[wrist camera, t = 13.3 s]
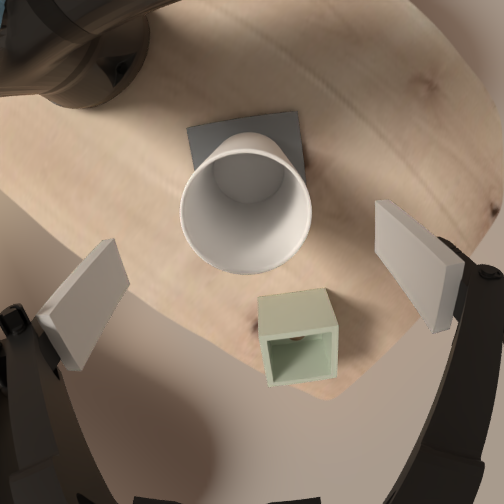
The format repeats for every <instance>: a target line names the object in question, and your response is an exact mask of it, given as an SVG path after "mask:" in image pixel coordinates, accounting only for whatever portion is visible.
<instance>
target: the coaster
mask: <svg viewBox="0 0 504 504" xmlns="http://www.w3.org/2000/svg"><path fill="white" fill-rule="evenodd" d="M244 132H254V133H259V134H262V135H265V136H267V137H268V138H270V139H272V140H273V141H274V142H275V143H276V144H277V145H278V146H279V147H280V149H281V150H282V151H283V153H284V154H285V155H286V157H287V158H288V159H289V161H290V162H291V164H292V165H293V166H294V168H295V169H296V170H297V172H298V173H299V175H300V176H301V178H302V179H303V181H304V183H305V185H306V177H305V168H304V159H303V151H302V143H301V135H300V127H299V119H298V112H297V111H292V112H283V113H274V114H266V115H259V116H251V117H245V118H238V119H232V120H226V121H220V122H214V123H209V124H204V125H199V126H194V127H189V128H187V134H188V139H189V144H190V150H191V155H192V160H193V165H194V170H196V169H197V168H198V167H199V166H200V165H201V164H202V163H203V162H204V161H205V160H206V159H207V158H208V157H209V156H210V155H211V154H212V153H213V152H214V151H215V150H216V149H217V148H218V147H219V146H220V145H221V144H222V143H223V142H224V141H225V140H226V139H228V138H229V137H231V136H233V135H236V134H239V133H244Z"/></svg>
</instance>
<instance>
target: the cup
mask: <svg viewBox="0 0 504 504" xmlns="http://www.w3.org/2000/svg"><path fill="white" fill-rule="evenodd" d="M311 220H312V206H311V200H310V196H309V192H308V189H307V187H306V185H305V183H304V181H303V179H302V178H301V176H300V175H299V173H298V172H297V170H296V169H295V168H294V166H293V165H292V164H291V162H290V161H289V159H288V158H287V157H286V155H285V154H284V153H283V151H282V150H281V149H280V147H279V146H278V145H277V144H276V143H275V142H274V141H273V140H272V139H270V138H268V137H267V136H265V135H262V134H259V133H254V132H244V133H239V134H236V135H233V136H231V137H229V138H228V139H226V140H225V141H224V142H223V143H222V144H221V145H220V146H219V147H218V148H217V149H216V150H215V151H214V152H213V153H212V154H211V155H210V156H209V157H208V158H207V159H206V160H205V161H204V162H203V163H202V164H201V165H200V166H199V167H198V168H197V169H196V170H195V172H194V173H193V174H192V176H191V177H190V179H189V180H188V182H187V184H186V186H185V189H184V191H183V194H182V198H181V203H180V221H181V226H182V230H183V233H184V235H185V237H186V239H187V241H188V243H189V245H190V246H191V248H192V249H193V250H194V251H195V252H196V254H197V255H198V256H199V257H201V258H202V259H203V260H204V261H205V262H207V263H208V264H210V265H212V266H213V267H215V268H217V269H220V270H222V271H225V272H229V273H233V274H240V275H252V274H260V273H264V272H267V271H270V270H273V269H275V268H277V267H279V266H281V265H283V264H284V263H285V262H287V261H288V260H289V259H291V258H292V257H293V256H294V255H295V254H296V253H297V252H298V250H299V249H300V248H301V246H302V245H303V243H304V241H305V239H306V237H307V235H308V233H309V229H310V225H311Z"/></svg>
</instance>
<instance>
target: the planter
mask: <svg viewBox="0 0 504 504" xmlns="http://www.w3.org/2000/svg"><path fill="white" fill-rule="evenodd" d="M338 332H339V325H338V322H337V319H336V316H335V314H334V311H333V308H332V305H331V303H330V300H329V297H328V294H327V292H326V289H325V288H320V289H313V290H306V291H299V292H292V293H285V294H277V295H270V296H262V297H258V335H259V342H260V347H261V352H262V358H263V363H264V369H265V374H266V379H267V385H268V387H274V386H283V385H291V384H298V383H305V382H312V381H318V380H325V379H331V378H336V377H337V365H338ZM300 336H305V337H304V338H303V339H301V340H298V341H293V340H291V339H289V338H293V337H300Z"/></svg>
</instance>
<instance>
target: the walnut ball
mask: <svg viewBox="0 0 504 504" xmlns="http://www.w3.org/2000/svg"><path fill="white" fill-rule="evenodd" d="M304 337H305V336H300V337H293V338H289V339H291V340H293V341H298V340H301V339H303V338H304Z"/></svg>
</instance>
